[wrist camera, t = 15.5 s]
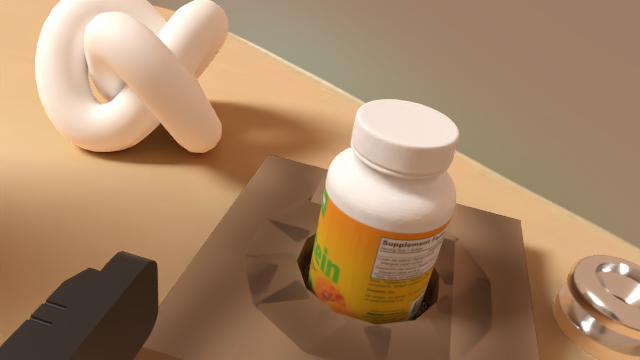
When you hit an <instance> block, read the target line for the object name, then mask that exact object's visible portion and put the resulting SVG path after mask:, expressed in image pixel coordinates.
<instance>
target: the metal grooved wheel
mask: <svg viewBox="0 0 640 360" xmlns="http://www.w3.org/2000/svg"><path fill="white" fill-rule="evenodd" d="M552 311H553V315H554V318H555V321H556V323H557V324H558V326H559V328H560V329H561V330H562V332H563V333H564V334H565V335H566V336H567V337H568V338H569V339H570V340H571V341H572V342H573V343H574V344H575V345H576V346H578V347H579V348H580V349H582V350H583V351H584V352H586V353H587V354H589V355H591V356H592V357H594V358H596V359H598V360H640V266H639V265H637V264H634V263H632V262H630V261H627V260H624V259H621V258H617V257H613V256H606V255H594V256H588V257H585V258H583V259H581V260H579V261H578V262H576V263H575V264H574V265H573V267H572V268H571V270H570V272H569V274H568V277H567V282H566V283H565V284H564V285H563V286H562V287H561V288H560V290H559V292H558V294H557V296H556V298H555V299H554V301H553V305H552Z"/></svg>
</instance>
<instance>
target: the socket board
mask: <svg viewBox="0 0 640 360" xmlns="http://www.w3.org/2000/svg"><path fill="white" fill-rule="evenodd" d="M327 173H328V170H326V169H323V168H319V167H315V166H311V165H307V164H304V163H300V162H296V161H292V160H288V159H284V158H281V157H277V156H273V155H268V156H267V157H266V159H265V160H264V162H263V163H262V164H261V166H260V167H259V168H258V170H257V171H256V173H255V174H254V175H253V177H252V178H251V180H250V181H249V182H248V184H247V185H246V187H245V188H244V189H243V191H242V192H241V193H240V195H239V196H238V198H237V199H236V200H235V202H234V203H233V205H232V206H231V207H230V209H229V210H228V212H227V213H226V214H225V216H224V217H223V218H222V220H221V221H220V223H219V224H218V225H217V227H216V228H215V230H214V231H213V232H212V234H211V235H210V237H209V238H208V239H207V241H206V242H205V243H204V245H203V246H202V248H201V249H200V250H199V252H198V253H197V255H196V256H195V257H194V259H193V260H192V262H191V263H190V264H189V266H188V267H187V268H186V270H185V271H184V273H183V274H182V275H181V277H180V278H179V280H178V281H177V282H176V284H175V285H174V287H173V288H172V289H171V291H170V292H169V293H168V295H167V296H166V298H165V299H164V300H163V302H162V303H161V305H160V306H159V307H158V315H157V319H156V322H155V325H154V328H153V330H152V332H151V334H150V336H149V337H148V339H147V341H146V342H145V343H144V345H143V346H142V348H141V349H140V351H139V352H138V354H137V355H136V357H135V358H134V360H540V359H539V352H538V345H537V337H536V330H535V323H534V315H533V308H532V301H531V294H530V286H529V279H528V272H527V265H526V257H525V250H524V243H523V235H522V228H521V221H520V220H518V219H514V218H510V217H506V216H502V215H498V214H495V213H491V212H487V211H483V210H479V209H476V208H472V207H468V206H464V205H460V204H456V203H455V207H454V210H453V214H452V217H451V220H450V222H449V225H448V228H447V231H446V234H445V237H444V239H443V242H442V245H441V248H440V251H439V254H438V257H437V259H436V262H435V265H434V268H433V271H432V273H431V276H430V279H429V282H428V285H427V288H426V290H425V293H424V296H423V297H424V298H425V300H426V302H427V304H428V305H429V306H428V310H426V311H425V312H424V313H423V314H422V315H421V316H419V317H418V318H417V319H416V320H412V321H404V322H396V323H388V324H379V325H376V324H372V323H369V322H365V321H362V320H359V319H355V318H352V317H349V316H345V315H342V314H339V313H335V312H334V311H333V310H332V309H331V308H329V307H328V306H327V305H326V304H325V303H323V302H322V301H321V300H320V299H319V298H317V297H316V296H315V295H314V294H313V293H311V292H310V291H309V290H308V289H307V288H306V286H305V283H304V280H303V277H302V274H301V272H300V271H301V269H302V268H304V267H306V266H307V265H309V264H311V258H312V253H313V248H314V243H315V238H316V232H317V227H318V221H319V216H320V211H321V205H322V199H323V194H324V188H325V182H326V178H327Z"/></svg>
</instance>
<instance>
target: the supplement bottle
mask: <svg viewBox="0 0 640 360" xmlns="http://www.w3.org/2000/svg"><path fill="white" fill-rule="evenodd" d="M458 139H459V131H458V128H457V126H456V125H455V124H454V123H453V121H451V120H450V119H449V118H448V117H447V116H445V115H444V114H442V113H440V112H438V111H436V110H434V109H432V108H430V107H427V106H424V105H421V104H417V103H413V102H408V101H403V100H393V99H386V100H385V99H383V100H375V101H371V102H368V103H366V104H364V105H362V106H361V107H360V108H359V110H358V112H357V114H356V119H355V123H354V127H353V132H352V139H351V147H350V148H348V149H346V150H344V151H343V152H341V153H340V154H339V155H338V156H336V157H335V159H334V160H333V161H332V163H331V165H330V167H329V169H328V173H327V178H326V182H325V188H324V194H323V199H322V205H321V211H320V216H319V221H318V227H317V232H316V238H315V243H314V248H313V253H312V258H311V264H310V269H309V274H308V280H307V289H308V290H309V291H310V292H311V293H313V294H314V295H315V296H316V297H317V298H319V299H320V300H321V301H322V302H323V303H325V304H326V305H327V306H328V307H329V308H331V309H332V310H333V311H334V312H335V313H339V314H342V315H345V316H349V317H352V318H355V319H359V320H362V321H365V322H369V323H372V324H376V325H379V324H388V323H396V322H404V321H412V320H414V319H415V317H416V315H417V312H418V310H419V307H420V305H421V302H422V299H423V296H424V293H425V290H426V288H427V285H428V282H429V279H430V276H431V273H432V271H433V268H434V265H435V262H436V259H437V257H438V254H439V251H440V248H441V245H442V242H443V239H444V237H445V234H446V231H447V228H448V225H449V222H450V220H451V217H452V214H453V210H454V207H455V203H456V190H455V186H454V183H453V181H452V179H451V177H450V175H449V174H448V173H447V171H446V170H447V169H448V167H449V165H450V164H451V162H452V160H453V157H454V152H455V149H456V145H457V142H458Z"/></svg>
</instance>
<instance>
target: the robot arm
mask: <svg viewBox="0 0 640 360" xmlns="http://www.w3.org/2000/svg"><path fill="white" fill-rule="evenodd" d="M157 315H158V269H157V263H156V262H155V261H153V260H150V259H147V258H143V257H140V256H137V255H133V254H130V253H127V252H123V251H121V252H119V253H117V254H116V255H115V256H114V257H113V258H112V259H111V260H110V261H109V262H108V263H107V264H106V265H105V266H104V268H103V269H102V270H101V271H98V270H95V269H92V268H88V269H86V270H84V271H82V272H80V273H79V274H77V275H75V276H73V277H71V278H69V279H68V280H66V281H64V282H63V283H62V284H61V285H60V286H59V287H58V288H57V289H56V290H55V291H54V292H53V293H52V295H51V296H50V297H49V298H48V299H47V300H46V303H45V304H42V305H41V306H40V307H39V308H38V309H37V310H36V311H35V312H34V313H33V314H32V315H31V318H30V319H29V320H26V321H25V322H24V323H23V324H22V325H21V326H20V327H19V328H18V329H17V330H16V331H15V332H14V333H13V334H12V335H11V336H10V337H9V338H8V339H7V340H6V341H5V342H4V344H3V345H2V346H1V347H0V360H133V359H134V358H135V357H136V355H137V354H138V352H139V351H140V349H141V348H142V346H143V345H144V343H145V342H146V341H147V339H148V337H149V336H150V334H151V332H152V330H153V328H154V325H155V322H156V319H157Z"/></svg>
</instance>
